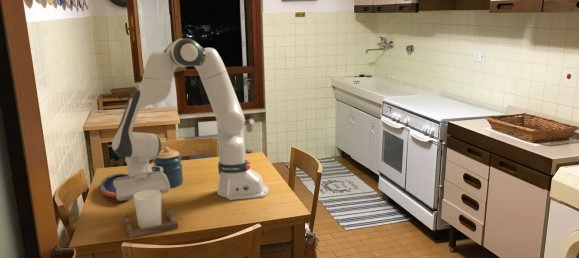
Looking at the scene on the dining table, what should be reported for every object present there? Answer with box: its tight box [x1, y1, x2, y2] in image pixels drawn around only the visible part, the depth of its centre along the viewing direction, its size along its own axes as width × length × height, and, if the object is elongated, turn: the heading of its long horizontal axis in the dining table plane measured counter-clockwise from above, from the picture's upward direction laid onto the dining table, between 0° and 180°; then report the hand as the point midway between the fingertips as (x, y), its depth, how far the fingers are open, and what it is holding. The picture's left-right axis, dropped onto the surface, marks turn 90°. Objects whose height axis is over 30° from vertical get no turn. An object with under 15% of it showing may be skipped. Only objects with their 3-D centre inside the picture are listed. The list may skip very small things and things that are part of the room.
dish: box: [99, 173, 130, 202], centre depth 206 cm, size 16×31×5 cm, turn 21°
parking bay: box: [123, 207, 179, 239], centre depth 174 cm, size 16×17×2 cm
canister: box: [152, 146, 184, 189], centre depth 214 cm, size 13×13×18 cm
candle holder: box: [133, 190, 163, 229], centre depth 173 cm, size 10×10×12 cm
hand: (146, 205), depth 179 cm, fingers closed
